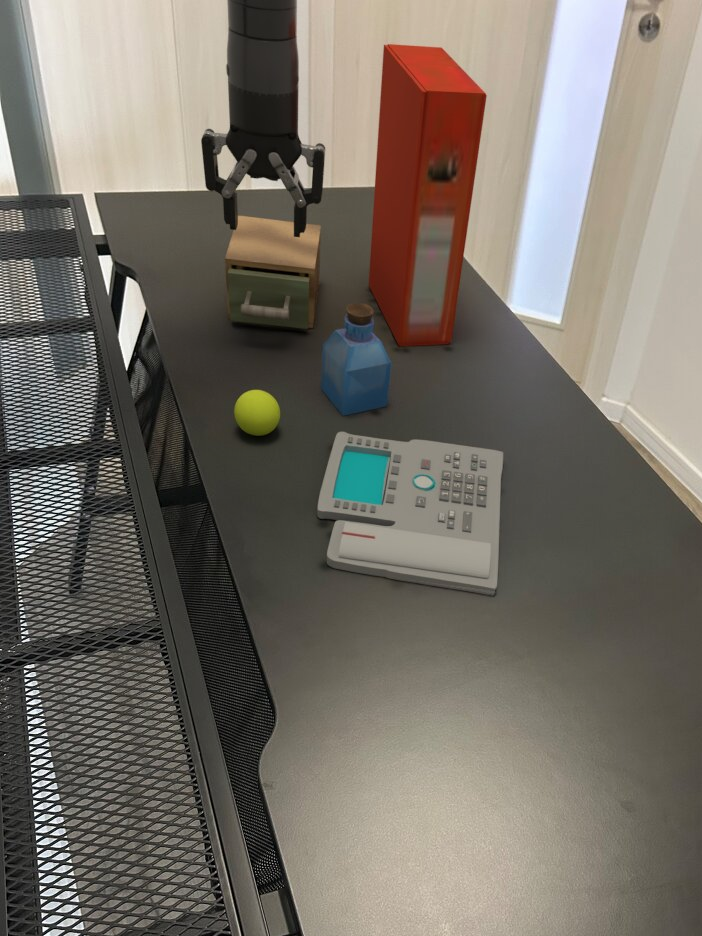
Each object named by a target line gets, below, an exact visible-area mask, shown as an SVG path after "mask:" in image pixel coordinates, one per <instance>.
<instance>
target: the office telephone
mask: <svg viewBox="0 0 702 936" xmlns="http://www.w3.org/2000/svg"><path fill="white" fill-rule="evenodd" d="M503 466H504V451H500V450H496V449H490V448H484V447H477V446H476V447H475V446H468V445H462V444H455V443H447V442H440V441H435V440H426V439H418V438H417V439H410V440H409V441H400V440H393V439H384V438H377V437H371V436H364V435H357V434H351V433H347V432H346V431H338V432H337V433H336V435H335V438H334V441H333V444H332V448H331V451H330V454H329V458H328V461H327V466H326V469H325V473H324V477H323V479H322V484H321V487H320V491H319V497H318V501H317V509H316V510H317V513H316V517H317V518H319V519H321V520H325V519H326V520H335V522H334V524H333V528H332V531H331V533H330V534H331V535H330V539H329V543H328V547H327V551H326V564H327V566H329V567H331V568H332V569H335V570H341V571H347V572H351V573H357V574H363V575H368V576H375V577H383V578H386V579H391V580H394V581H395V580H396V581H402V582H407V583H415V584H421V585H427V586H433V587H439V588H446V589H449V590H450V589H452V590H456V591H457V590H458V591H464V592H470V593H476V594H482V595H488V596H492V597H493V596H494V595H495V594H496V592H495V593H494V594H492V593H486V592H481V591H475V590H469V589H462V588H456V587H450V586H444V585H437V584H431V583H438V584H445V585H454V586H462V587H470V588H475V589H483V590H490V591H495V590H496V591H497V588H498V574H499V550H500V548H499V547H500V521H501V520H500V519H501V518H500V517H501V491H502V490H501V489H502V488H501V487H502V484H501V483H502V474H503ZM412 580H415V581H412ZM419 581H424V582H419ZM425 582H430V583H425Z"/></svg>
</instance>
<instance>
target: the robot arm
mask: <svg viewBox="0 0 702 936" xmlns="http://www.w3.org/2000/svg"><path fill="white" fill-rule="evenodd" d="M226 2H227V24H228V25H227V26H228V27H227V33H228V34H227V45H226V65H225V66H226V67H225V69H226V76H227V89H228V114H229V129H228V132H227V133H223V132H215V131H214V130H213V129H212V128H207V129H205V130H204V132H203V134H202V136H201V138H200V139H201V140H200V143H201V152H202V153H201V154H202V164H203V174H204V183H205V188H206V190H208V191H209V192H216V193H218V194H219V195H220V196H221V197H222V203H223V204H222V205H223V206H222V207H223V208H222V209H223V221H224V223H225V225H229V230H233V231H234V230H236V229H237V226H238V216H239V214H238V212H239V211H238V192H236V190H237V188H238V187H239V185H240V184H241V183H242V181H243V179H244V178H245V177H246V175H247V176H249V177H250V179H257V180H258V179H266V180H269V181H272V182H273V181H274V182H278V180H280V181H281V183H282V184H283V186H284V188H285V189H286V191H287V192H288V193H289V194H290V195H291V198H292V200H293V201H294V206H293V222H294V237H300V233H304V232H305V229H306V224H307V218H308V217H307V215H308V214H307V212H308V210H307V209H308V206H309V205H311V204H312V205H313V204H314V205H319V204H321V201H322V199H323V198H322V197H323V189H324V176H325V161H326V146H325V145H324V143H321V142H319V143H316V144H315V145H310V144H304V143H302V141H301V138H300V137H299V81H300V76H299V74H300V70H299V69H300V63H299V62H300V60H299V59H300V58H299V47H298V36H297V34H298V0H227V1H226ZM224 146H226V147H227V149H228V150H229V152H230V154H231V155H232V156H233V158H234V160H235V161H236V163H235V164H234V166H233V168H232V170H231V171H230V172H229V175H228V176H227V178H226V179H225V178H223V177H220V174H219V173H220V172H219V161H218V156H219V155H220V154H221V153H222V151H223V147H224ZM301 156H303V157H304V159H305V162H306V165H307V166H308V167H309V168H312V175H311V188H307V189H305V187H304V185H303V183H302V181H301V179H300V176H299V174H298V172H297V170H296V168H295V166H294V165H295V164H296V163H297V161H298V160H299V159H300V157H301Z"/></svg>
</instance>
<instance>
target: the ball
mask: <svg viewBox="0 0 702 936" xmlns="http://www.w3.org/2000/svg"><path fill="white" fill-rule="evenodd" d="M233 409H234V410H233V412H234V419H235V422H236V424H237V425H238V426H239V428H240V429H241V430H242V431H243V432H245V433H246V434H249V435H251V436H256V437H261V436H266V435H268V434H270V433H271V432H273V431H274V430H275V429H276V428H277V426H278V425H279V423H280V418H281V409H280V405H279V403H278V401H277V400H276V399H275V397H274V396H273V395H271V394H270V393H269V392H267V391H265V390H262V389H251V390H248V391H245V392H244V393H242V394H241V395H239V398H238V399H237V400H236V402H235V404H234V408H233Z"/></svg>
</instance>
